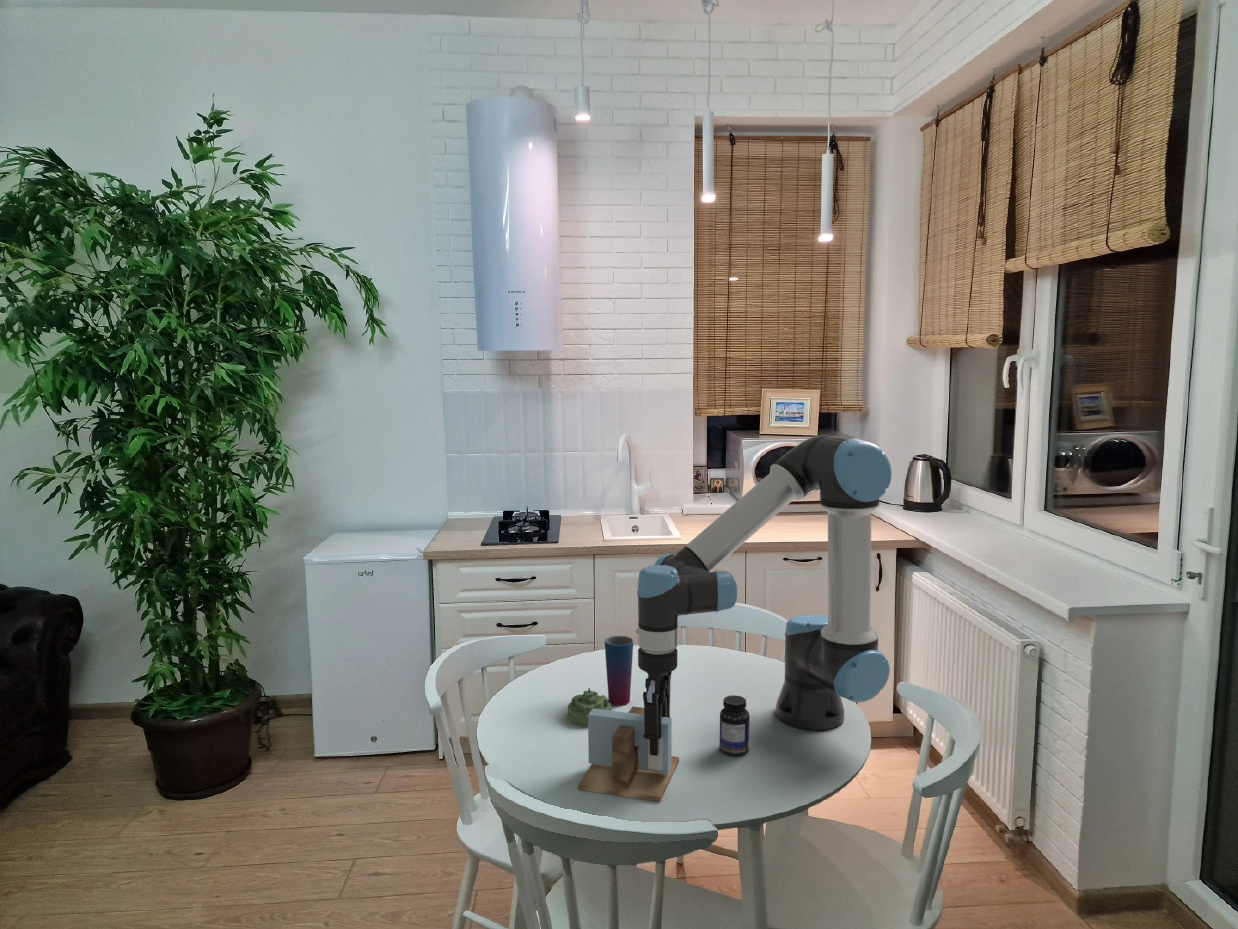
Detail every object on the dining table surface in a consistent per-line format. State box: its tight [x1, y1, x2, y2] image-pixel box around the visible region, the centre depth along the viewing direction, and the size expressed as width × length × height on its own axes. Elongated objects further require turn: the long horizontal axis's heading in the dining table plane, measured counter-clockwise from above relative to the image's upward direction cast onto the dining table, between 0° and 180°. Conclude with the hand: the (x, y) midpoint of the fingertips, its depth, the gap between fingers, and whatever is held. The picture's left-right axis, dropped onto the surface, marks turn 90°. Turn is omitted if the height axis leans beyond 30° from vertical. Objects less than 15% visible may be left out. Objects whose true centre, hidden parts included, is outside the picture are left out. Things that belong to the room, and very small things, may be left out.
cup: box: [604, 635, 634, 706], centre depth 197 cm, size 7×7×15 cm
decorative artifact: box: [566, 687, 612, 728], centre depth 189 cm, size 10×7×10 cm
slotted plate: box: [587, 708, 673, 774], centre depth 163 cm, size 16×3×10 cm, turn 73°
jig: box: [577, 705, 680, 803], centre depth 163 cm, size 16×16×11 cm
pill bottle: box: [719, 694, 751, 757], centre depth 173 cm, size 6×6×11 cm
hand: (657, 764), depth 162 cm, fingers closed on slotted plate, 3 cm apart
